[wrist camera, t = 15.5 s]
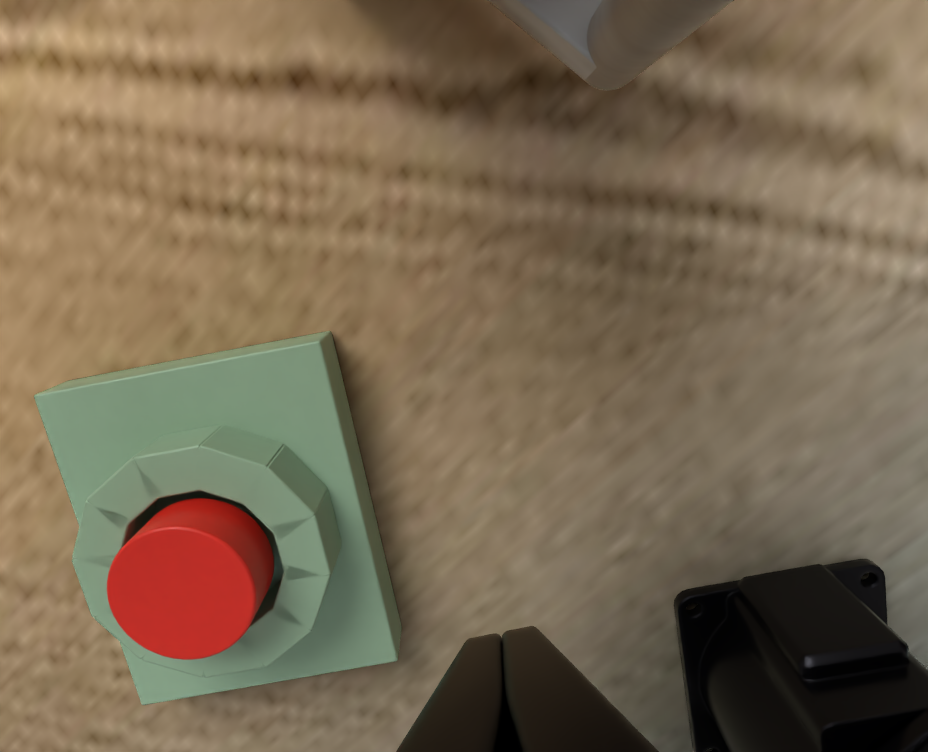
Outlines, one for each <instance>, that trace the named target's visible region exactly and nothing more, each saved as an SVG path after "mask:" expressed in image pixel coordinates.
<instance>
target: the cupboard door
mask: <svg viewBox="0 0 928 752" xmlns="http://www.w3.org/2000/svg"><path fill="white" fill-rule="evenodd" d="M488 1H489V2H490V3H492V4H493V5H494V6H495V7H496V8H498V9H499V10H500V11H501V12H502V13H504V14H505V15H506V16H507V17H508V18H510V19H511V20H512V21H513V22H514V23H516V24H517V25H518V26H519V27H521V28H522V29H523V30H524V31H525V32H527V33H528V34H529V35H530V36H531V37H533V38H534V39H535V40H536V41H537V42H539V43H540V44H541V45H542V46H543V47H545V48H546V49H547V50H548V51H549V52H551V53H552V54H553V55H554V56H555V57H557V58H558V59H559V60H560V61H562V62H563V63H564V64H565V65H566V66H568V67H569V68H570V69H571V70H572V71H574V72H575V73H576V74H577V75H578V76H580V77H581V78H582V79H583V80H584V81H586V82H587V83H588V84H589V85H591V86H592V87H594V88H597V89H600V90H615V89H618V88H621V87H623V86H625V85H626V84H628V83H629V82H630V81H632V80H633V79H634V78H635V77H637V76H638V75H639V74H640V73H642V72H643V71H644V70H646V69H647V68H648V67H649V66H651V65H652V64H653V63H655V62H656V61H657V60H658V59H660V58H661V57H662V56H663V55H665V54H666V53H667V52H669V51H670V50H671V49H672V48H674V47H675V46H676V45H677V44H679V43H680V42H681V41H683V40H684V39H685V38H686V37H688V36H689V35H690V34H692V33H693V32H694V31H695V30H697V29H698V28H699V27H700V26H702V25H703V24H704V23H706V22H707V21H708V20H709V19H711V18H712V17H713V16H715V15H716V14H717V13H718V12H720V11H721V10H722V9H723V8H725V7H726V6H727V5H729V4H730V3H731V2H732V1H734V0H488Z"/></svg>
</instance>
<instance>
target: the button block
mask: <svg viewBox="0 0 928 752" xmlns="http://www.w3.org/2000/svg"><path fill="white" fill-rule="evenodd" d="M34 398H35V401H36V404H37V407H38V410H39V413H40V415H41V418H42V421H43V424H44V427H45V430H46V432H47V435H48V438H49V441H50V444H51V447H52V450H53V452H54V455H55V458H56V461H57V464H58V467H59V470H60V472H61V475H62V478H63V481H64V484H65V487H66V490H67V492H68V495H69V498H70V501H71V504H72V507H73V510H74V512H75V515H76V518H77V521H78V524H79V531H78V535H77V539H76V543H75V548H74V552H73V556H72V558H73V559H72V562H73V565H74V568H75V571H76V574H77V576H78V579H79V582H80V585H81V588H82V590H83V593H84V596H85V599H86V602H87V604H88V607H89V610H90V613H91V616H92V617H94V618H95V620H96V621H97V622H99V623H100V624H101V625H102V626H103V627H104V628H105V629H106V630H108V631H109V632H110V633H111V634H112V635H113V636H114V637H115V638H117V639H118V640H119V641H120V644H121V646H122V649H123V652H124V655H125V658H126V661H127V664H128V666H129V669H130V672H131V675H132V678H133V681H134V684H135V686H136V689H137V692H138V695H139V698H140V701H141V704H142V705H147V704H153V703H158V702H164V701H170V700H176V699H182V698H187V697H193V696H199V695H205V694H210V693H216V692H222V691H228V690H233V689H239V688H245V687H251V686H257V685H262V684H268V683H274V682H280V681H285V680H291V679H297V678H303V677H308V676H314V675H320V674H326V673H332V672H337V671H343V670H349V669H355V668H360V667H366V666H372V665H378V664H383V663H389V662H395V661H397V660H398V654H399V646H400V639H401V632H402V626H401V621H400V617H399V613H398V609H397V605H396V601H395V596H394V592H393V588H392V584H391V580H390V575H389V571H388V567H387V563H386V559H385V554H384V550H383V546H382V542H381V538H380V533H379V529H378V525H377V521H376V517H375V513H374V508H373V504H372V500H371V496H370V492H369V487H368V483H367V479H366V475H365V471H364V466H363V462H362V458H361V454H360V450H359V445H358V441H357V437H356V433H355V429H354V425H353V420H352V416H351V412H350V408H349V404H348V399H347V395H346V391H345V387H344V383H343V378H342V374H341V370H340V366H339V362H338V357H337V353H336V349H335V345H334V341H333V337H332V333H331V331H326V332H321V333H315V334H310V335H305V336H300V337H294V338H289V339H284V340H279V341H273V342H268V343H263V344H258V345H253V346H247V347H242V348H237V349H232V350H226V351H221V352H216V353H211V354H205V355H200V356H195V357H190V358H184V359H179V360H174V361H169V362H163V363H158V364H153V365H148V366H142V367H137V368H132V369H127V370H121V371H116V372H111V373H106V374H101V375H95V376H90V377H85V378H80V379H74V380H69V381H66V382H64V383H62V384H59V385H57V386H54V387H52V388H50V389H47V390H45V391H43V392H40V393H38V394H36V395H35V396H34ZM194 498H207V499H215V500H219V501H223V502H226V503H229V504H231V505H233V506H235V507H237V508H239V509H241V510H242V511H244V512H245V513H247V514H248V515H249V516H250V517H252V518H253V519H254V520H255V521H256V522H257V523H258V525H259V526H260V527H261V528H262V530H263V531H264V533H265V534H266V536H267V538H268V540H269V543H270V545H271V548H272V552H273V557H274V574H273V578H272V582H271V585H270V587H269V589H268V591H267V593H266V595H265V597H264V599H263V601H262V603H261V605H260V607H259V609H258V611H257V613H256V615H255V617H254V619H253V621H252V623H251V625H250V626H249V628H248V630H247V631H246V633H245V634H244V635H243V636H242V637H241V638H240V639H239V640H238V641H237V642H236V643H235V644H234V645H232V646H231V647H229V648H228V649H226V650H224V651H222V652H220V653H218V654H216V655H213V656H210V657H206V658H202V659H193V660H182V659H173V658H169V657H165V656H162V655H159V654H156V653H153V652H151V651H149V650H147V649H145V648H144V647H142V646H141V645H139V644H138V643H136V642H135V641H134V640H133V639H131V638H130V637H129V636H128V635H127V634H126V633H125V632H124V631H123V629H122V628H121V627H120V625H119V624H118V623H117V621H116V619H115V617H114V616H113V613H112V611H111V609H110V605H109V602H108V596H107V579H108V573H109V570H110V567H111V564H112V562H113V560H114V558H115V556H116V555H117V553H118V552H119V550H120V549H121V548H122V547H123V546H124V545H125V544H126V543H127V542H128V541H129V540H130V539H131V538H132V537H133V536H134V535H135V534H136V533H137V532H138V531H139V530H140V529H141V528H142V527H143V526H144V525H145V524H146V523H147V522H148V521H149V520H150V519H151V518H152V517H153V516H154V515H155V514H156V513H158V512H159V511H160V510H162V509H163V508H165V507H167V506H169V505H171V504H173V503H176V502H178V501H182V500H186V499H194Z"/></svg>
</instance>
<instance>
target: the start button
mask: <svg viewBox="0 0 928 752" xmlns="http://www.w3.org/2000/svg"><path fill="white" fill-rule="evenodd" d="M273 574H274V557H273V552H272V548H271V545H270V543H269V540H268V538H267V536H266V534H265V533H264V531H263V530H262V528H261V527H260V526H259V525H258V523H257V522H256V521H255V520H254V519H253V518H252V517H250V516H249V515H248V514H247V513H245V512H244V511H242V510H241V509H239V508H237V507H235V506H233V505H231V504H229V503H226V502H223V501H219V500H215V499H207V498H194V499H186V500H182V501H178V502H176V503H173V504H171V505H169V506H167V507H165V508H163V509H162V510H160V511H159V512H158V513H156V514H155V515H154V516H153V517H152V518H151V519H150V520H149V521H148V522H147V523H146V524H145V525H144V526H143V527H142V528H141V529H140V530H139V531H138V532H137V533H136V534H135V535H134V536H133V537H132V538H131V539H130V540H129V541H128V542H127V543H126V544H125V545H124V546H123V547H122V548H121V549H120V550H119V552H118V553H117V555H116V556H115V558H114V560H113V562H112V564H111V567H110V570H109V573H108V579H107V596H108V602H109V605H110V609H111V611H112V613H113V616H114V617H115V619H116V621H117V623H118V624H119V625H120V627H121V628H122V629H123V631H124V632H125V633H126V634H127V635H128V636H129V637H130V638H131V639H133V640H134V641H135V642H136V643H138V644H139V645H141V646H142V647H144V648H145V649H147V650H149V651H151V652H153V653H156V654H159V655H162V656H165V657H169V658H173V659H182V660H193V659H202V658H206V657H210V656H213V655H216V654H218V653H220V652H222V651H224V650H226V649H228V648H229V647H231V646H232V645H234V644H235V643H236V642H237V641H238V640H239V639H240V638H241V637H242V636H243V635H244V634H245V633H246V631H247V630H248V628H249V626H250V625H251V623H252V621H253V619H254V617H255V615H256V613H257V611H258V609H259V607H260V605H261V603H262V601H263V599H264V597H265V595H266V593H267V591H268V589H269V587H270V585H271V582H272V578H273Z"/></svg>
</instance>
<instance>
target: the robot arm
mask: <svg viewBox="0 0 928 752" xmlns="http://www.w3.org/2000/svg"><path fill="white" fill-rule="evenodd" d="M868 572H869V576H868V577H867V578H866V579H864V580H861V577H862V576H863V575H864V574H866V573H868ZM691 603H697V606H696V607H695V608H694V609H692V610H686V607H687V606H688V605H689V604H691ZM674 609H675V617H676V625H677V632H678V640H679V647H680V655H681V663H682V670H683V678H684V685H685V693H686V701H687V708H688V716H689V723H690V731H691V739H692V746H693V750H694V752H705V751H706V750H708V749H710V748H713V750H711V751H709V752H928V670H927V669H926V668H925V667H924V666H923V665H922V664H921V663H920V662H919V661H918V660H917V659H916V658H914V657H913V656H912V655H911V654H910V653H909V652H908V646H907V644H906V643H905V642H904V641H903V640H902V639H901V638H900V637H899V636H898V635H897V634H896V633H895V632H894V631H893V630H892V629H891V628H890V627H889V626H888V625H887V608H886V588H885V575H884V572H883V571H882V570H881V569H880V567H878V566H877V565H876V564H875V563H873V562H872V561H870V560H868V559H858V560H852V561H847V562H841V563H835V564H830V565H824V566H822V565H820V564H817V565H811V566H805V567H800V568H794V569H788V570H783V571H777V572H771V573H765V574H760V575H754V576H748V577H744V578H743V579H741V580H738V581H732V582H726V583H721V584H715V585H709V586H703V587H698V588H692V589H687V590H684V591H682V592H681V593H679V594H678V595H677V597H676V598H675V600H674ZM396 752H659V751H658V750H657V749H656V748H655V747H654V746H653V745H652V744H651V743H650V742H649V741H648V740H647V739H646V738H645V737H644V736H643V735H642V734H641V733H640V732H639V731H638V730H637V729H636V728H635V727H634V726H633V725H632V724H631V723H630V722H629V721H628V720H627V719H626V718H625V717H624V716H623V715H622V714H621V713H620V712H619V711H618V710H617V709H616V708H615V707H614V706H613V705H612V704H611V703H610V702H609V701H608V700H607V699H606V698H605V697H604V696H603V695H602V694H601V693H600V692H599V691H598V690H597V689H596V687H595V686H594V685H593V684H592V683H591V682H590V681H589V680H588V679H587V678H586V677H585V676H584V675H583V674H582V673H581V672H580V671H579V670H578V669H577V668H576V667H575V666H574V665H573V664H572V663H571V662H570V661H569V660H568V659H567V658H566V657H565V656H564V655H563V654H562V653H561V652H560V651H559V650H558V649H557V648H556V647H555V646H554V645H553V644H552V643H551V642H550V641H549V640H548V639H547V638H546V637H545V636H544V635H543V634H542V633H541V632H540V631H539V630H538V629H537V628H536V627H534V626H529V627H524V628H519V629H514V630H509V631H506V632H505V633H504V634H503V635H502V637H501V636H500V635H499V634H489V635H484V636H479V637H474V638H470V639H468V640H467V641H466V642H465V643H464V645H463V647H462V648H461V650H460V651H459V653H458V654H457V656H456V658H455V659H454V661H453V662H452V664H451V666H450V667H449V669H448V670H447V672H446V674H445V675H444V677H443V678H442V680H441V681H440V683H439V685H438V686H437V688H436V689H435V691H434V693H433V694H432V696H431V697H430V699H429V700H428V702H427V704H426V705H425V707H424V708H423V710H422V712H421V713H420V715H419V716H418V718H417V719H416V721H415V723H414V724H413V726H412V727H411V729H410V731H409V732H408V734H407V735H406V737H405V739H404V740H403V742H402V743H401V745H400V746H399V748H398V750H397V751H396Z"/></svg>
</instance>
